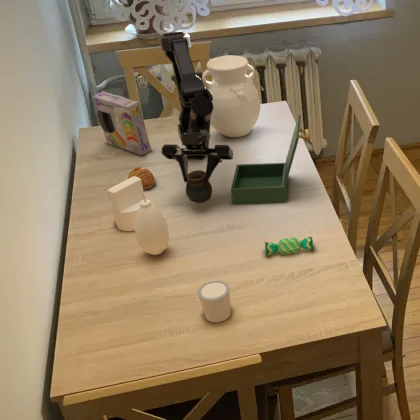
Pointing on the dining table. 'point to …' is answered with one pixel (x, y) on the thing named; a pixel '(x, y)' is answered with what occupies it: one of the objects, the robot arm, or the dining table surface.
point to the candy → (289, 246)
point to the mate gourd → (198, 187)
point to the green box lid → (294, 147)
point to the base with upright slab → (126, 202)
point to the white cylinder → (215, 300)
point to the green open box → (259, 183)
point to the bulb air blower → (151, 228)
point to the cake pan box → (122, 122)
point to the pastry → (143, 177)
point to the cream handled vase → (232, 95)
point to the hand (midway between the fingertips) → (195, 182)
